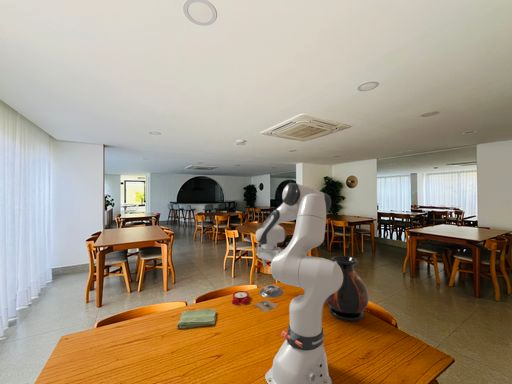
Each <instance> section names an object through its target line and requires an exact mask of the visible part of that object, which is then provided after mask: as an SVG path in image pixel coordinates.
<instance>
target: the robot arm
mask: <svg viewBox="0 0 512 384" xmlns="http://www.w3.org/2000/svg"><path fill="white" fill-rule="evenodd" d="M281 199H282V203H281V204H280V205H279V206H278V207H277V208H276V209H274V210H273V211H272V212H270V214H269V215H268V216H267V218H266V219H265V220H264V222H263V223H262V225H260V226H259V227H257V229H256V230H255V235H254V237H255V240H256V242H257V250H256V251H257V252H256V253H257V258H259V259H261V261H262V266H263V267H267V264H268V263H267V262H266V261H269V262H270V273H271V276H272V278H273V279H274V280H276V281H278V282H279V283H283V284H284V285H287V286H293V287H296V288H297V287H298V288H301V289H303V291H304V294H303V293H302V294H300V295H297V296H294V297H293V299H292V300H290V303H289V307H288V311H289V324H288V327H287V331H285V330H282V331H281V334H280V337H282V338H283V339H284V342H283V343H282V344H281V347H280V348H279V350H278V352H277V353H276V355H275V356H274V357H273V361H272V366H271V368H270V369H269V370H268V371H267V372H266V373H265V375H264V379H266V380H265V382H266V381H267V383H268V384H325V383H326V384H333V381H332V379H331V377H330V375H329V374H330V373H329V366H328V357H327V353H326V349H325V347H324V338H325V337H324V336H325V334H324V329H323V326H322V324H323V321H322V320H323V309H324V305H325V303H326V299H327V298H328V297H329V296H330V295H332V294H333V293H335V292H337V291H338V290H339V289H340V287H341V286H342V283H343V273H342V270H341V268H340V266H339V265H338V264H337V263H336V262H333V261H331V259H327V258H324V257H319V256H318V257H316V256H309V255H308V253H309V252H310V251H311V250H312V249H314V248H317V247H320V246H321V245H322V243H324V240H325V234H326V225H327V224H326V223H327V213H328V212H329V210H330V208H331V206H332V199H331V196H330V195H329V194H327V193H326V192H323V191H320V190H318V189H315V188H313V187H311V186H308V185H304V184H298V183H297V182H289V183H287V184H286V185H285V187H284V188H283V191H282V196H281ZM295 220H296V222H295V227H294V231H293V234H292V238H291V240H290V241H289V243H288V245H287V246H286V247H285V248H284V249H282V248H281V247H278V243H283V242H284V241H285V240H286V237H287V231H286V229H285V228H284V227H283V226H281V225H280V224H282V223H287V222H293V221H295ZM269 381H271V382H269ZM267 383H266V384H267Z"/></svg>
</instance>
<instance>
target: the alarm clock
mask: <svg viewBox="0 0 512 384" xmlns="http://www.w3.org/2000/svg"><path fill="white" fill-rule="evenodd" d="M249 303H250V297H249V292H248V291H247V290H246V291H245V290H239V291H235V292H234V293H233V295H232V301H231V304H232V305H235V306H245V305H248V304H249Z"/></svg>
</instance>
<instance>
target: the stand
mask: <svg viewBox="0 0 512 384" xmlns="http://www.w3.org/2000/svg"><path fill="white" fill-rule="evenodd" d="M253 306H254V307H255V308H257V309H259V310H261V311H262V312H264V313H267V312H269V311H271V310H273V309H275V308H277V307H279V305H278V304H276V303H274V302H272V301H270V300H268V299H264V300H262V301H260V302H257V303H255V304H253Z"/></svg>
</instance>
